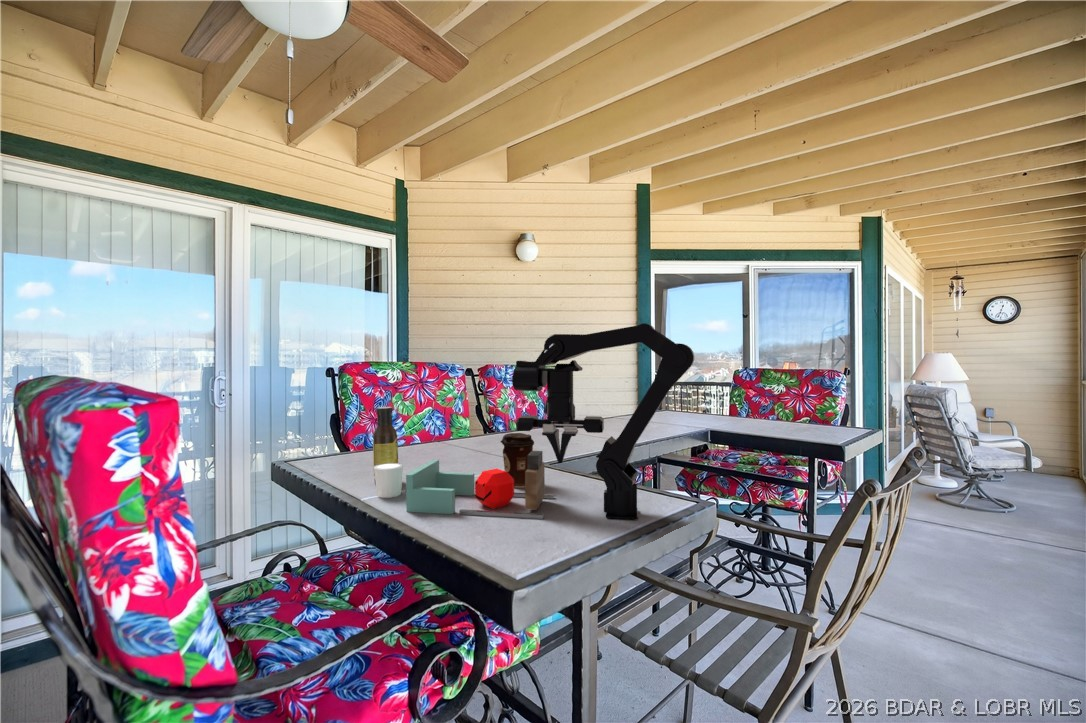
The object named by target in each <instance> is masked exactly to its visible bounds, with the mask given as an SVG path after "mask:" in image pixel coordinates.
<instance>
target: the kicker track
mask: <svg viewBox="0 0 1086 723" xmlns="http://www.w3.org/2000/svg"><path fill="white" fill-rule="evenodd" d="M513 498H524V499H525V492H516V491H514V496H513ZM543 499H545V500H547V499H550V500H553V499H555V494H554V493H545V496H544V498H543ZM458 512H459V515H461V516H462V515H465V516H480V517H496V518H497V517H499V518H515V519H517V518H519V519H531V520H532V519H535V520H537V519H538V520H543V519H544V517H545V516H544V515H545V514H544V513H539V512H538V513H537V512H536V513H535V512H518V511H517V512H516V511H504V510H503V511H502V510H501V511H497V510H485V509H484V510H482V509H481V510H480V509H466V508H465V509H459V510H458Z"/></svg>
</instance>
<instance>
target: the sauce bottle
mask: <svg viewBox="0 0 1086 723" xmlns="http://www.w3.org/2000/svg"><path fill="white" fill-rule="evenodd" d="M375 410H376V411H375V412H376V415H377V416H376V417H377V423H376V428H375V430H374V431H373V434H372V438H373V439H372V449H373V450H372V452H373V453H372V454H373V456H372V458H373V459H372V460H373V462H372V463H373V467H374V466H376V465H380V464H385V463H399V449H398V448H399V446H398V445H399V444H398V433H397V430H396V429H395V426H394V425H393V411H394V408H393V407H392V406H381V407H380V406H379V407H378V406H377V407H376V408H375ZM373 476H374V477H375V472H374V471H373ZM374 483H375V484H376V482H375V478H374Z"/></svg>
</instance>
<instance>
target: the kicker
mask: <svg viewBox="0 0 1086 723" xmlns="http://www.w3.org/2000/svg"><path fill="white" fill-rule="evenodd" d="M527 462H528V469H527V470H526V472H525V487H524V493H525V498H524V499H525V500H524V503H525V504H524V505H525V506H524V507H525V508H524V509H525V510H529V511H530V510H531V511H537V510H538V508H539V506H540V505H541V503H542V502H543V500H544V499H545V498H544V496H545V494H546V493H545V492H546V491H545V490H546V489H545V481H546V480H545V476H546V475H545V474H546V473H545V461H543V450H533V451H531V452H530V453H529V454H528V455H527Z"/></svg>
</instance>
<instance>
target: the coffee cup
mask: <svg viewBox="0 0 1086 723" xmlns="http://www.w3.org/2000/svg"><path fill="white" fill-rule="evenodd" d="M500 443H501V444H502V445H503V449H502V459H503V468H504V470H503V471H506V472H508V473H509V474H510V475H511V477H512V478H513V479H514V489H516V488H517V489H521V488H522V489H525V472H526V470H527V469H528V462H527V455H528V454H529V453H530V452H531V451H534V450H533V449H534V445H535V442H534V440H533V439H532V435H531V434H526V433H522V432H515V433H514V432H511V433H509V432H508V433H506V434H504V436H502V439H501V440H500Z"/></svg>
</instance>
